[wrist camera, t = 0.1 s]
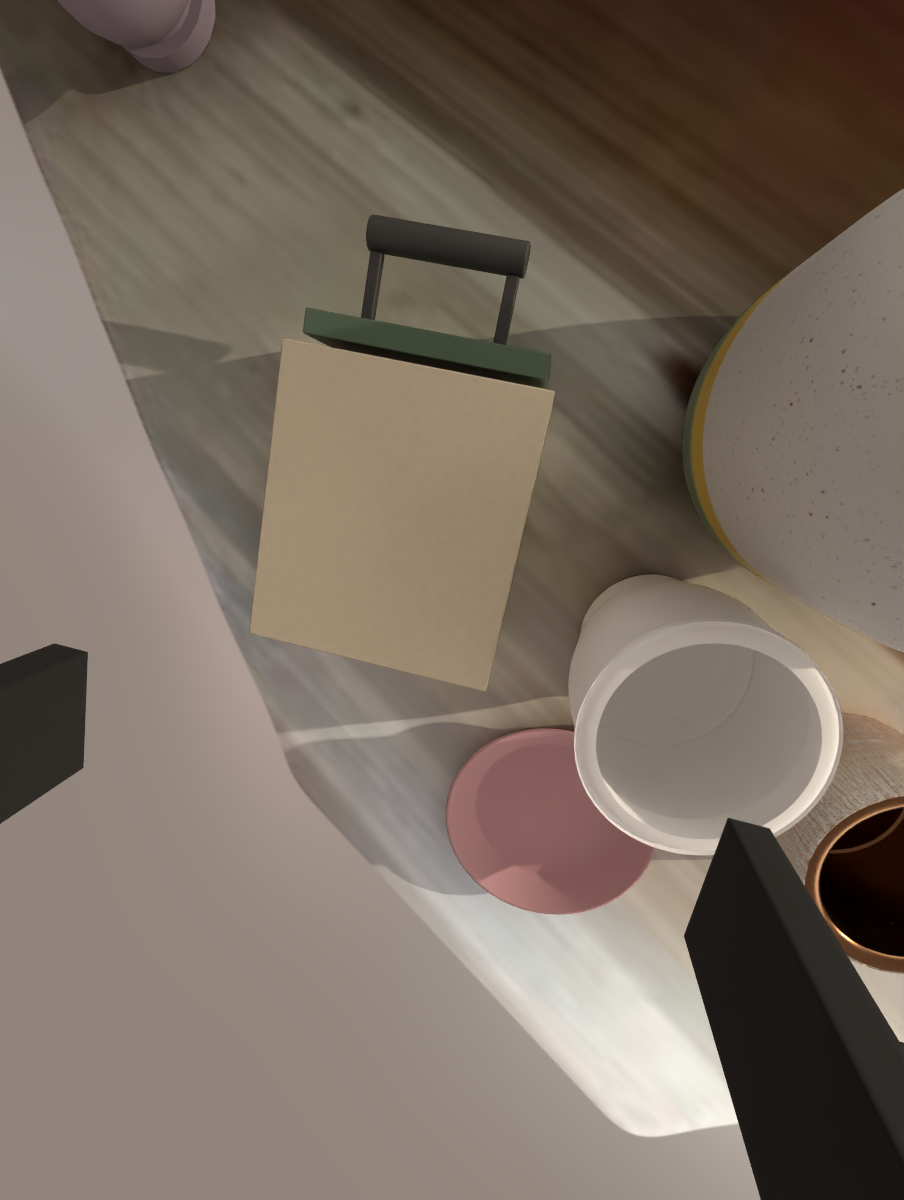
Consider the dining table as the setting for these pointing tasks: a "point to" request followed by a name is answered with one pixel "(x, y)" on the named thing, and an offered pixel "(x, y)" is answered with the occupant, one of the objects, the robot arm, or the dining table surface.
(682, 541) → the dining table surface
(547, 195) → the dining table surface
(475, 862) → the plate
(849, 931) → the planter
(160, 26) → the cat figurine
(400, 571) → the cabinet
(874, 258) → the vase
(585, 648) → the jar
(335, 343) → the drawer
